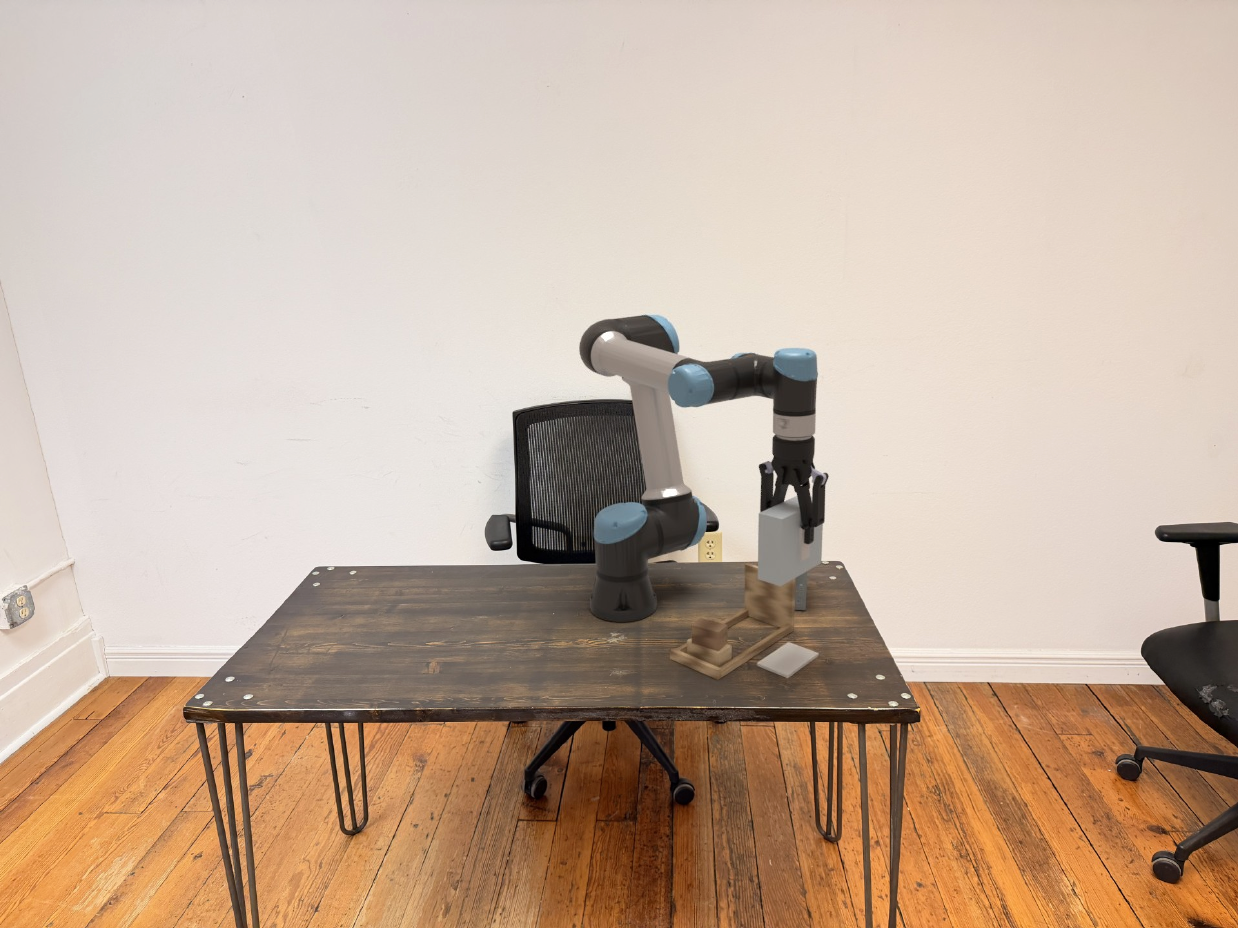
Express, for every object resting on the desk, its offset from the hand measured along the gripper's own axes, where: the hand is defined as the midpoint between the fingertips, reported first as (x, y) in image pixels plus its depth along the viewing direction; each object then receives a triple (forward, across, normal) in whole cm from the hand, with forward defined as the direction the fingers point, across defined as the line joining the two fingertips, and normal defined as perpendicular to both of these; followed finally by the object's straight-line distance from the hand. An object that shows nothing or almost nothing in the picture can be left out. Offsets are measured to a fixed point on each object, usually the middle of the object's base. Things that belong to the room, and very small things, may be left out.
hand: (790, 554), depth 154 cm
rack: (+22, -12, -2) cm, 26 cm away
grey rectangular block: (+3, 0, 0) cm, 3 cm away
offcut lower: (+23, -12, -10) cm, 27 cm away
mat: (+22, 0, 0) cm, 22 cm away
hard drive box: (+23, -16, +25) cm, 37 cm away
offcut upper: (+19, -12, -10) cm, 24 cm away
